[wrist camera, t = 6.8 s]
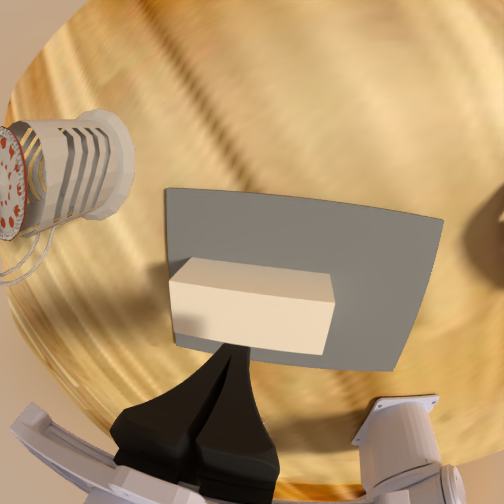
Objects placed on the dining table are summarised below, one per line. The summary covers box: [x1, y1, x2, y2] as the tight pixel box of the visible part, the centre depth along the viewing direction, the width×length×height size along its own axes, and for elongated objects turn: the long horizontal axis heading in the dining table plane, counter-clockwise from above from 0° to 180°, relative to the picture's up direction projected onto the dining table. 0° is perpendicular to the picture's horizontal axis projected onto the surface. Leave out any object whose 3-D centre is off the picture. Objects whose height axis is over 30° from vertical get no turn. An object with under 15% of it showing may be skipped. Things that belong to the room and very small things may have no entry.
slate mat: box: [166, 188, 444, 371], centre depth 20 cm, size 14×20×1 cm
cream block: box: [169, 257, 335, 355], centre depth 18 cm, size 4×4×10 cm
